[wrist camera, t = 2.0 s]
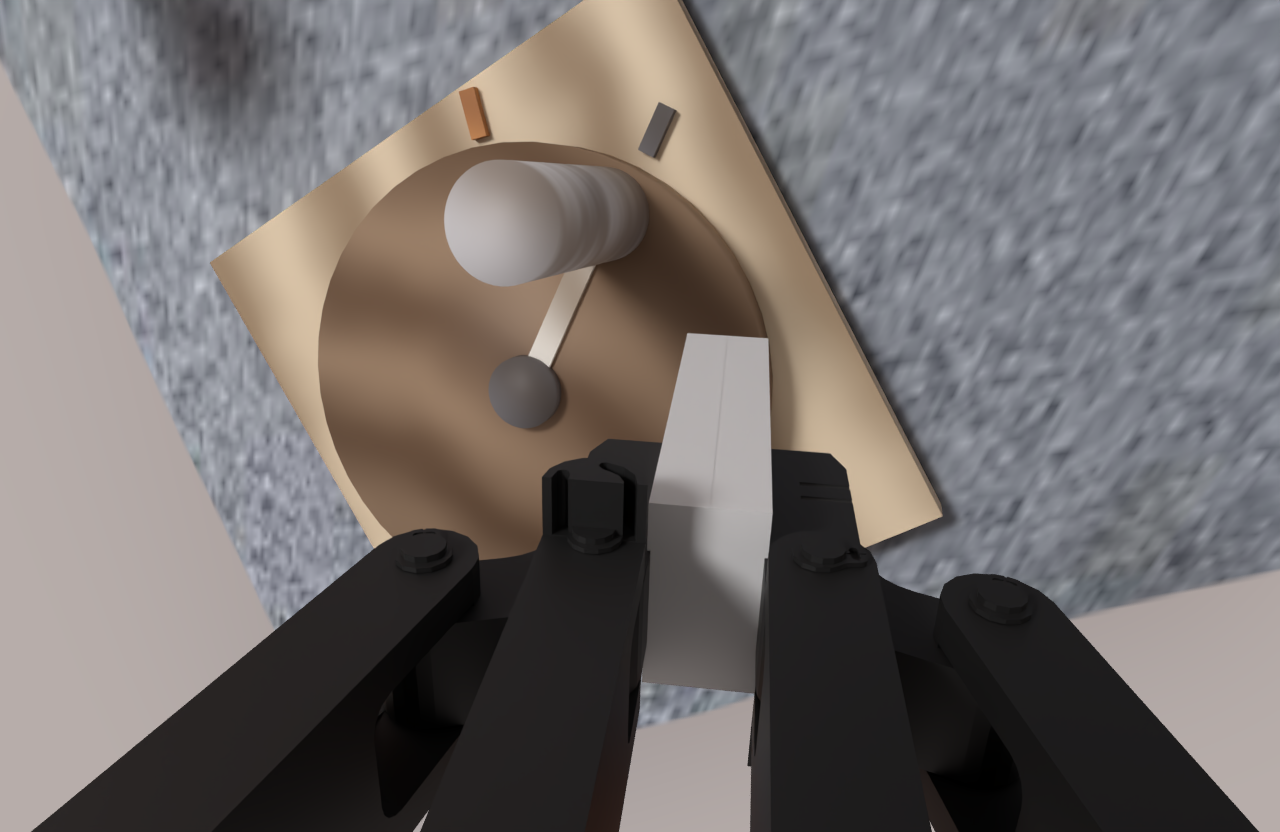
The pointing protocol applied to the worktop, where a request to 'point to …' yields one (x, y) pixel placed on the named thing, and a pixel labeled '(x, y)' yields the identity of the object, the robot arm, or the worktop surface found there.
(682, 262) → the dial
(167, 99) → the worktop surface
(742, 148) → the stand plate
